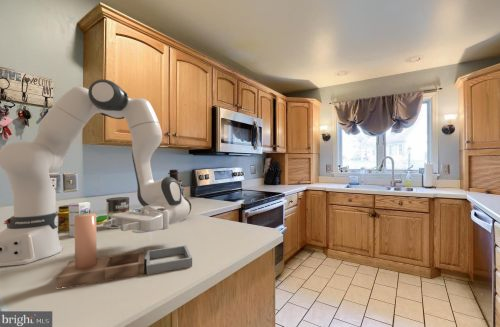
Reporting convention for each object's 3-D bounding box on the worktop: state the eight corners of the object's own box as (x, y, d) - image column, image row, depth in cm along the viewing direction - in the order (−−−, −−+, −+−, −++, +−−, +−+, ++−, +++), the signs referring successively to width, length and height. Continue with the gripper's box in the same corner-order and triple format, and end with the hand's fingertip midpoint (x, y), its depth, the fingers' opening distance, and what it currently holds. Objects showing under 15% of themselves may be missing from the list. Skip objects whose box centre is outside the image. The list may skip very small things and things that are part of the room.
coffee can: (133, 224, 124) (133, 197, 124) (113, 229, 115) (113, 200, 115) (122, 222, 129) (122, 196, 129) (102, 227, 120) (102, 199, 120)
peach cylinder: (71, 266, 66) (70, 216, 66) (91, 260, 70) (90, 212, 70) (81, 270, 64) (80, 217, 64) (100, 263, 68) (99, 214, 68)
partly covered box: (56, 289, 60) (56, 277, 60) (69, 271, 70) (69, 261, 70) (144, 273, 68) (143, 263, 68) (144, 259, 78) (144, 250, 78)
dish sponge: (88, 225, 125) (88, 221, 125) (99, 219, 139) (99, 215, 139) (103, 224, 127) (102, 220, 127) (113, 218, 140) (112, 214, 140)
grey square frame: (146, 274, 67) (146, 265, 67) (147, 258, 79) (146, 250, 79) (192, 266, 72) (192, 258, 72) (186, 252, 84) (186, 245, 84)
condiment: (54, 233, 110) (54, 207, 110) (60, 229, 118) (60, 204, 118) (73, 231, 113) (73, 206, 113) (78, 227, 121) (78, 203, 121)
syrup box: (80, 237, 104) (79, 203, 104) (68, 236, 105) (68, 203, 105) (91, 233, 110) (90, 201, 110) (80, 232, 111) (79, 201, 111)
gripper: (133, 206, 91) (94, 213, 79) (171, 210, 80) (132, 219, 68) (133, 222, 91) (94, 232, 79) (171, 229, 80) (133, 241, 68)
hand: (112, 226), depth 73 cm, fingers open, 8 cm apart
